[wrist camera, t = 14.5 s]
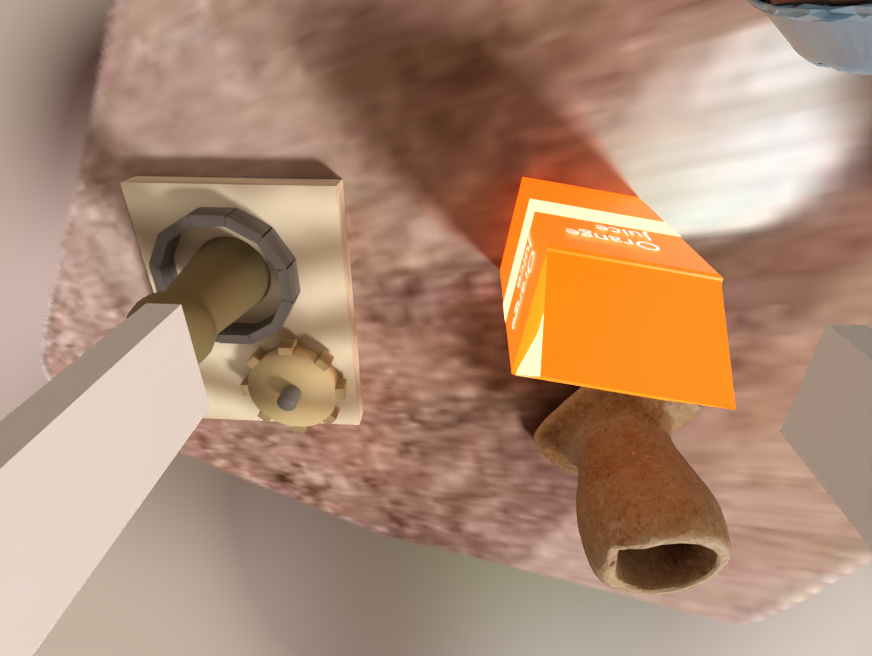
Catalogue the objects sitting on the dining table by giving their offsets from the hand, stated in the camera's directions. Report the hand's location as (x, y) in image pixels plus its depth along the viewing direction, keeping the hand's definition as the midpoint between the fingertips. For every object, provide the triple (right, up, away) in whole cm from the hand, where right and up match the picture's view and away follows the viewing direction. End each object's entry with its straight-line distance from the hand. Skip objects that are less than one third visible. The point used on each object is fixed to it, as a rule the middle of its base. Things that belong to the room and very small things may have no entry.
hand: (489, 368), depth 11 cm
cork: (-17, +5, +29) cm, 34 cm away
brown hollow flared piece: (+16, -7, +36) cm, 40 cm away
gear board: (-16, +3, +33) cm, 37 cm away
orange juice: (+9, +8, +28) cm, 31 cm away
